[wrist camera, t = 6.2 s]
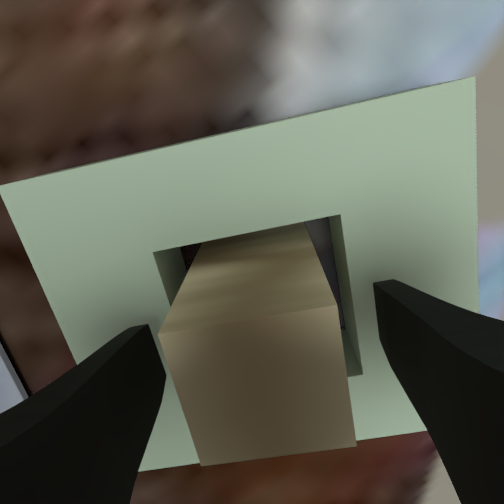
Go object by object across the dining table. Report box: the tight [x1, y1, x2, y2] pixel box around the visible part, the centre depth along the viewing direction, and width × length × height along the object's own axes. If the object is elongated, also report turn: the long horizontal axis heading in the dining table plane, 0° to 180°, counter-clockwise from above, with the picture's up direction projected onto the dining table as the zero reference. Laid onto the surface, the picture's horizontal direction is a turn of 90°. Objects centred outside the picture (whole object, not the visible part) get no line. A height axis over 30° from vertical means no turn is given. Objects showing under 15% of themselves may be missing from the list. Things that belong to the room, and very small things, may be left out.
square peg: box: [158, 222, 357, 466], centre depth 12 cm, size 4×4×7 cm
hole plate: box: [0, 77, 479, 472], centre depth 14 cm, size 14×12×3 cm
